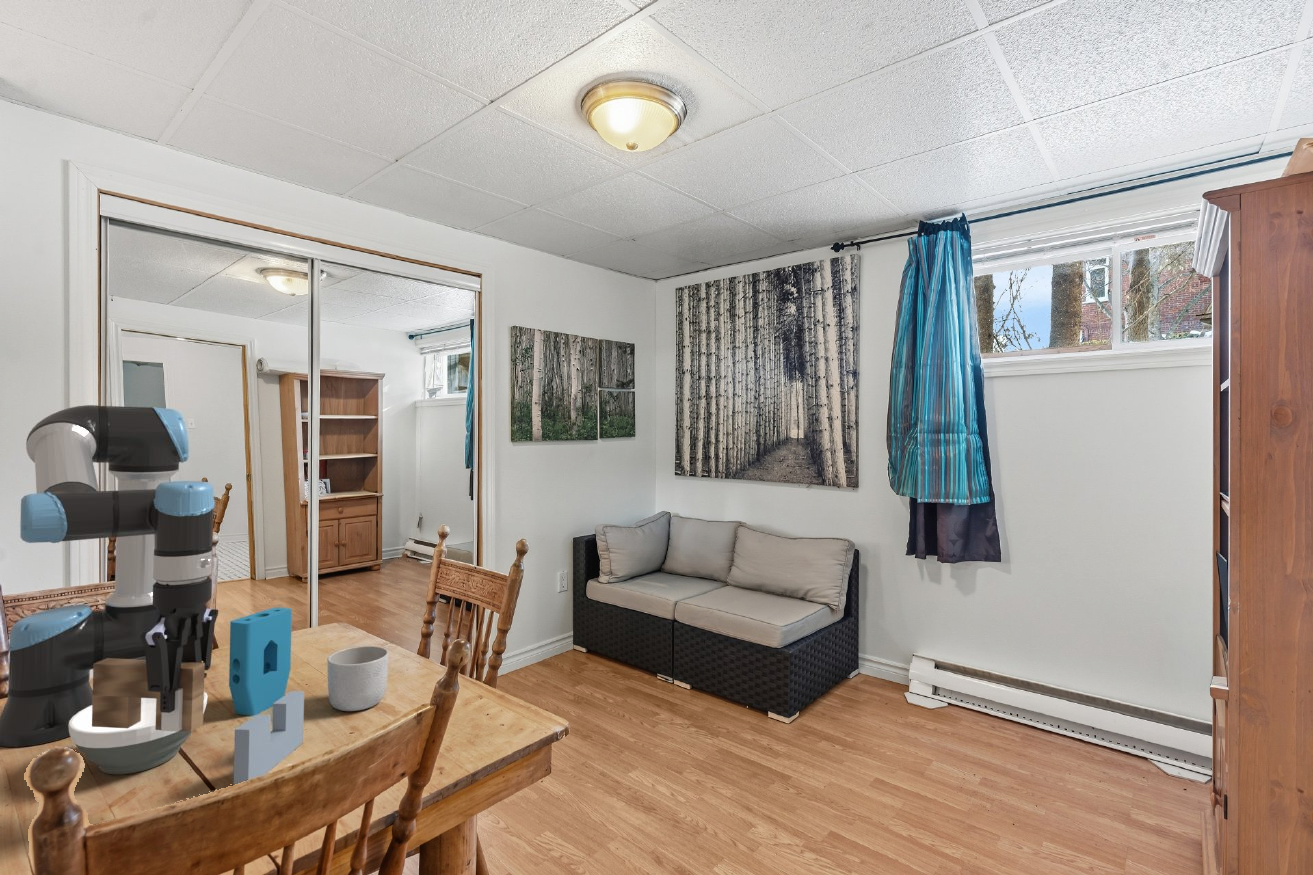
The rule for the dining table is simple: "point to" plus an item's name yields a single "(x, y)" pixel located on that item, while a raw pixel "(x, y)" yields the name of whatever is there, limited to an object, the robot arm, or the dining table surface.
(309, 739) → the dining table surface
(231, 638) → the block
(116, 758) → the bowl
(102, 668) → the wooden blocks
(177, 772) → the dining table surface
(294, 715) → the slot stand
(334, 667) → the planter
